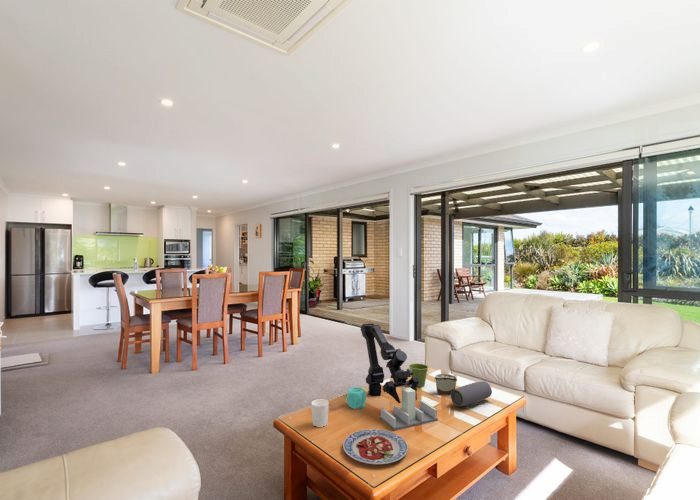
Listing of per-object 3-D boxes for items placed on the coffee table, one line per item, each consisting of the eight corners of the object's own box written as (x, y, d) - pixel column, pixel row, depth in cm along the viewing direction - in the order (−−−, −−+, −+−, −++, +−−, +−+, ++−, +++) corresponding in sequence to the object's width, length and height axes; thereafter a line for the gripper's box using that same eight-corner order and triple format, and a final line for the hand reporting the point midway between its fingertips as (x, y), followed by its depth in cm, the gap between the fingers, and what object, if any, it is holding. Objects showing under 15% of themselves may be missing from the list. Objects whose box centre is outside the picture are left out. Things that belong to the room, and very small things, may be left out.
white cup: (331, 422, 166) (331, 400, 166) (324, 429, 158) (324, 407, 159) (315, 419, 168) (315, 398, 169) (308, 426, 161) (308, 404, 161)
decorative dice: (346, 407, 182) (346, 391, 182) (351, 401, 189) (352, 386, 189) (361, 409, 179) (361, 394, 179) (366, 403, 187) (366, 388, 187)
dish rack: (379, 418, 170) (379, 407, 170) (421, 409, 180) (421, 399, 180) (393, 430, 158) (394, 419, 158) (437, 420, 168) (437, 409, 168)
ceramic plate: (334, 440, 150) (334, 433, 150) (388, 429, 159) (388, 423, 159) (358, 476, 126) (358, 467, 126) (420, 460, 135) (420, 452, 135)
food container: (455, 391, 204) (455, 374, 204) (457, 395, 198) (457, 377, 198) (433, 390, 205) (433, 373, 205) (434, 394, 199) (434, 376, 199)
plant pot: (432, 384, 214) (432, 366, 214) (421, 390, 205) (421, 370, 206) (415, 380, 222) (415, 362, 222) (404, 385, 214) (404, 366, 214)
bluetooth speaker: (478, 396, 197) (478, 378, 197) (492, 402, 189) (492, 383, 190) (449, 405, 185) (449, 385, 185) (464, 411, 177) (464, 391, 177)
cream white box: (407, 420, 166) (407, 392, 166) (401, 416, 170) (401, 388, 170) (415, 418, 167) (415, 390, 168) (409, 414, 172) (409, 387, 172)
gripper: (385, 365, 170) (397, 397, 160) (418, 360, 178) (431, 390, 168) (377, 376, 177) (388, 407, 167) (409, 371, 185) (421, 401, 175)
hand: (408, 401), depth 169 cm, fingers open, 9 cm apart
